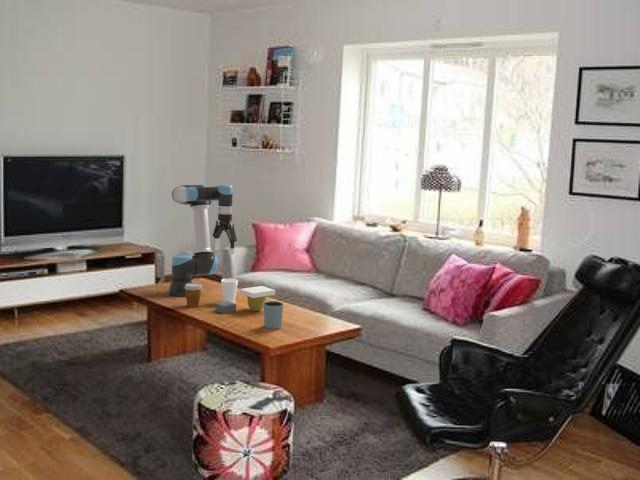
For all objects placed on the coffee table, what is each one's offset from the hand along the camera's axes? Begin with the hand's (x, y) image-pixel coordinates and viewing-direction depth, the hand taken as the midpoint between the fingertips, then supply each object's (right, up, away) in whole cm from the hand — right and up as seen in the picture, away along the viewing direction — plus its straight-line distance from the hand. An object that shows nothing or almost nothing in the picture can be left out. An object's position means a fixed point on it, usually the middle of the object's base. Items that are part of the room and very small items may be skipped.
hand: (224, 252), depth 396 cm
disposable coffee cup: (-18, -30, +4) cm, 35 cm away
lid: (+18, -23, 0) cm, 29 cm away
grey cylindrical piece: (+28, -37, -29) cm, 55 cm away
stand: (+1, -32, -3) cm, 32 cm away
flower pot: (+18, -32, +1) cm, 36 cm away
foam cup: (+1, -29, +15) cm, 32 cm away
